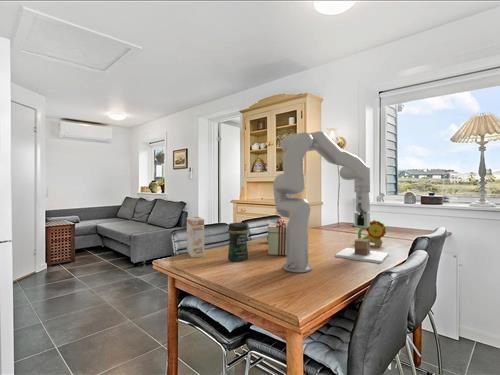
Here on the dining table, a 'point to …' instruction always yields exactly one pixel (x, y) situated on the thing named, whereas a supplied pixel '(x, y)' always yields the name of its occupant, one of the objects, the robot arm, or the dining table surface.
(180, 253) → the dining table surface
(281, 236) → the gift box
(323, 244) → the dining table surface
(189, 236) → the coffeecake box
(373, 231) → the toy lion
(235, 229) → the coffee jar
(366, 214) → the sage block
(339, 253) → the board
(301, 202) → the robot arm
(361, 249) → the walnut block
